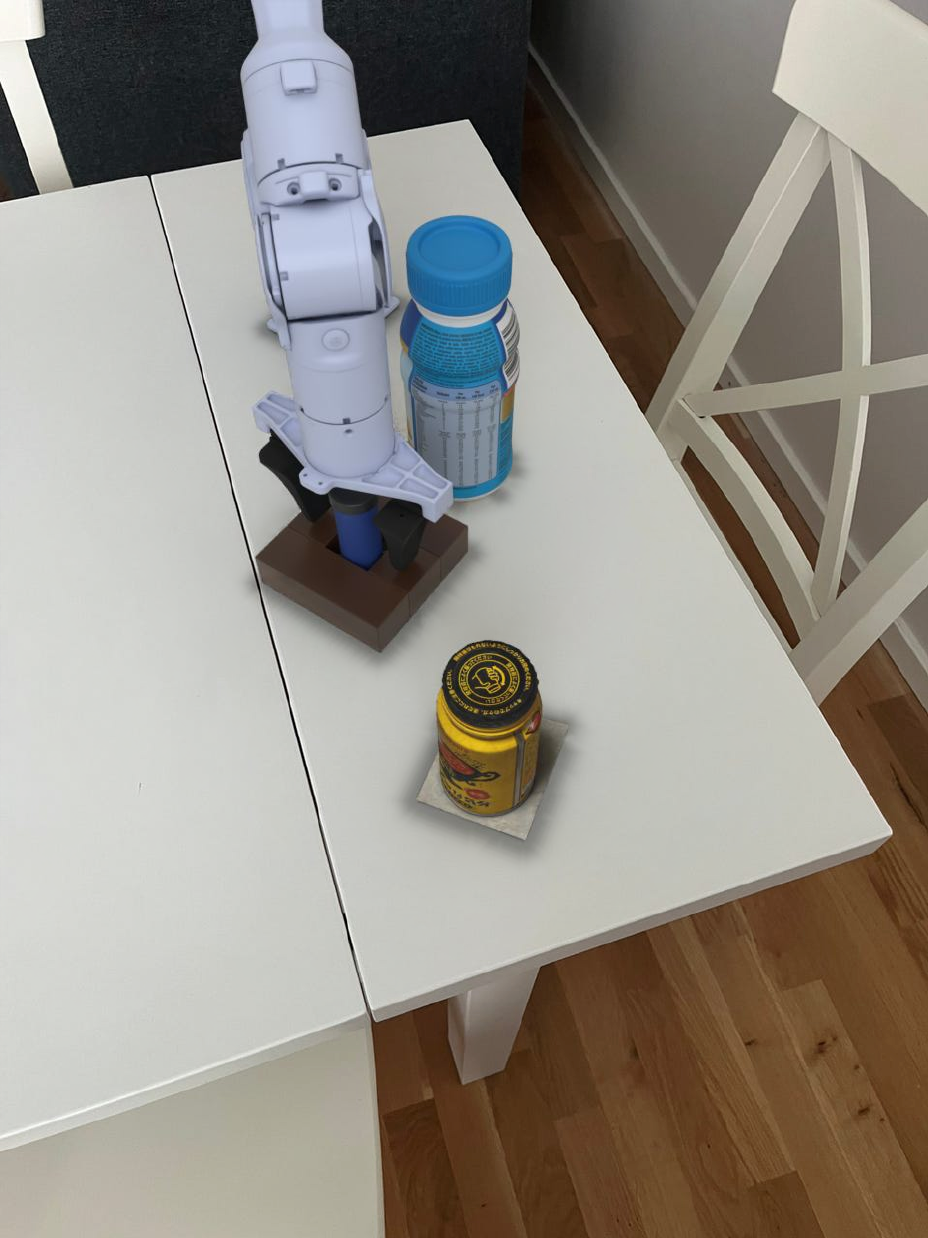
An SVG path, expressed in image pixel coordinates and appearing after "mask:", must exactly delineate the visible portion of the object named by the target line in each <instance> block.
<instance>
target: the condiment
mask: <svg viewBox="0 0 928 1238" xmlns="http://www.w3.org/2000/svg"><path fill="white" fill-rule="evenodd" d="M539 684H540V680H539V679H538V672H537V670H536V668H535V665H534V664H533V663H532V662H531V659H530V658H529V657H528V656H526V654H525V653H524V652H523V651H522V650H521V649H520V648H518V647H516V646H514V645H512V644H509V643H506V642H504V641H502V640H501V641H500V640H493V639H484V640H480V641H474V642H471V643H468V644H466V645H465V646H463V647H462V648H461V649H459V650H458V651H456V652H455V653H453V655H452V656H451V657H450V659H448V661H447V664H446V666H445V669H443V672H442V677H441V687H440V689H439V691H438V694H437V698H436V712H435V713H436V714H435V716H436V728H437V745H438V751H437V753H436V756H435V757H434V760H433V762H432V764H431V766H430V768H429V771H428V773H427V775H426V777H425V780H424V781H423V784H422V786H421V788H420V791H419V792H418V795H417V796H416V798H415V800H416V801H419V802H421V803H423V804H426V805H429V806H431V807H433V808H436V809H439V810H442V811H444V812H447V813H450V814H452V815H454V816H456V817H457V816H458V817H459V818H463V819H465V820H467V821H471V822H474V823H477V824H479V825H482V826H484V827H487V828H490V829H493V830H496V831H499V832H502V833H505V834H508V835H511V836H513V837H515V838H518V839H521V840H523V841H526V840H527V837H528V834H529V832H530V830H531V827H532V824H533V821H534V820H535V817H536V814H537V811H538V808H539V806H540V803H541V801H542V798H543V795H544V792H545V790H546V788H547V785H548V782H549V780H550V777H551V774H552V772H553V769H554V766H555V764H556V761H557V759H558V756H559V754H560V751H561V748H562V745H563V742H564V740H565V737H566V734H567V732H568V730H569V727H570V726H569V724H566V723H562V722H560V721H555V720H552V719H549V718H545V717H543V711H544V710H543V707H544V706H543V699H542V694H541V692H540V690H539Z"/></svg>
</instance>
